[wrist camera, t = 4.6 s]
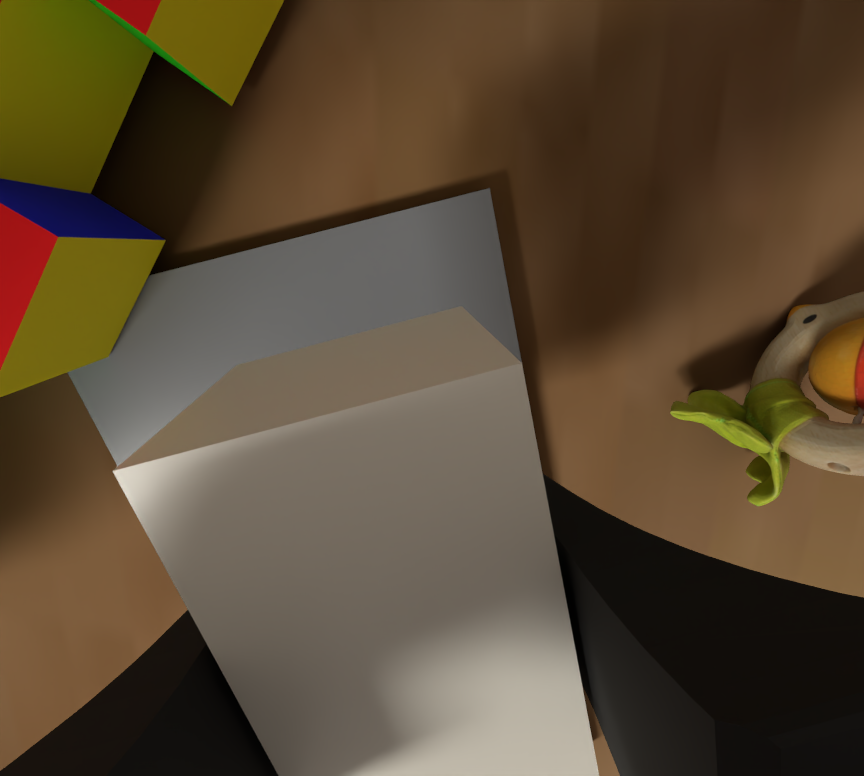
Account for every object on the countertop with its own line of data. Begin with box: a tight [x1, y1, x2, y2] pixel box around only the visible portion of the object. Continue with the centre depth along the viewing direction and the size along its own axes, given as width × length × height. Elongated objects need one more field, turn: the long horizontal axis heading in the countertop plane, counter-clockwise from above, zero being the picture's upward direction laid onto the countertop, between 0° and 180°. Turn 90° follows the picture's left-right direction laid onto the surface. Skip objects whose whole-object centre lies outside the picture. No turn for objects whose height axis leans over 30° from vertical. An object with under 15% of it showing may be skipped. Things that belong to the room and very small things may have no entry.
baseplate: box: [67, 188, 522, 466], centre depth 21 cm, size 16×30×1 cm, turn 14°
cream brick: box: [113, 306, 599, 776], centre depth 9 cm, size 5×9×4 cm, turn 14°
